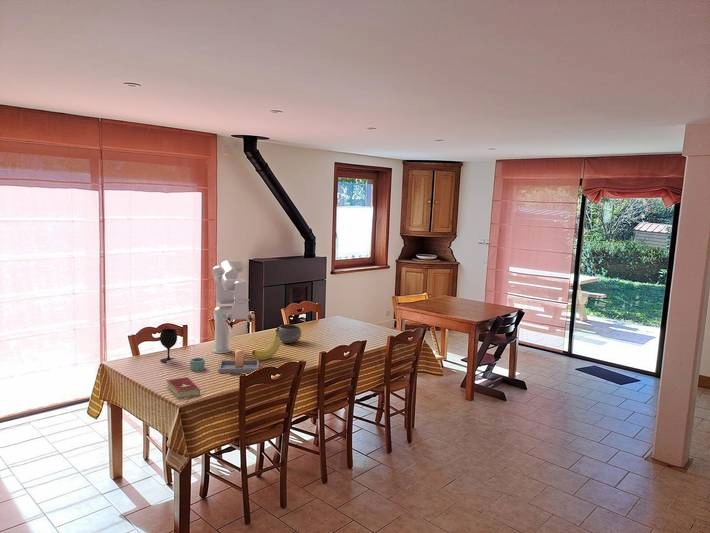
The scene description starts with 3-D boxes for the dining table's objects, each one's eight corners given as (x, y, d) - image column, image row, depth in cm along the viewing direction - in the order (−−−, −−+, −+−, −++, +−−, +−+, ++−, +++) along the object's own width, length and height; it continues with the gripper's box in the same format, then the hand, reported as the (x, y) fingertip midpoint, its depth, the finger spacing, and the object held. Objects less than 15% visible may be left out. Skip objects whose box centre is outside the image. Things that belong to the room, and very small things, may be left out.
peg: (235, 366, 335) (235, 349, 334) (243, 366, 336) (243, 349, 335) (234, 369, 330) (235, 351, 329) (243, 369, 331) (243, 351, 330)
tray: (220, 365, 340) (220, 360, 339) (258, 365, 344) (258, 359, 344) (218, 374, 322) (218, 368, 322) (258, 373, 327) (258, 368, 326)
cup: (191, 368, 332) (191, 357, 331) (205, 367, 333) (205, 357, 333) (189, 372, 324) (189, 361, 323) (204, 372, 325) (204, 361, 324)
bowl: (303, 340, 410) (303, 324, 409) (298, 346, 393) (298, 329, 391) (280, 338, 412) (280, 322, 411) (274, 344, 394) (274, 328, 393)
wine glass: (180, 360, 346) (180, 330, 344) (167, 364, 337) (167, 333, 335) (169, 357, 351) (169, 327, 349) (156, 361, 342) (156, 330, 340)
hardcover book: (188, 383, 306) (188, 376, 305) (199, 395, 288) (199, 387, 288) (166, 386, 299) (166, 379, 298) (177, 398, 282) (177, 391, 281)
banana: (255, 362, 349) (255, 332, 346) (249, 360, 352) (250, 331, 350) (281, 356, 365) (282, 328, 363) (276, 354, 369) (277, 326, 367)
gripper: (254, 300, 334) (254, 326, 336) (226, 299, 330) (225, 326, 333) (254, 302, 326) (254, 329, 328) (225, 301, 323) (225, 329, 325)
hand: (239, 328), depth 330 cm, fingers open, 9 cm apart
